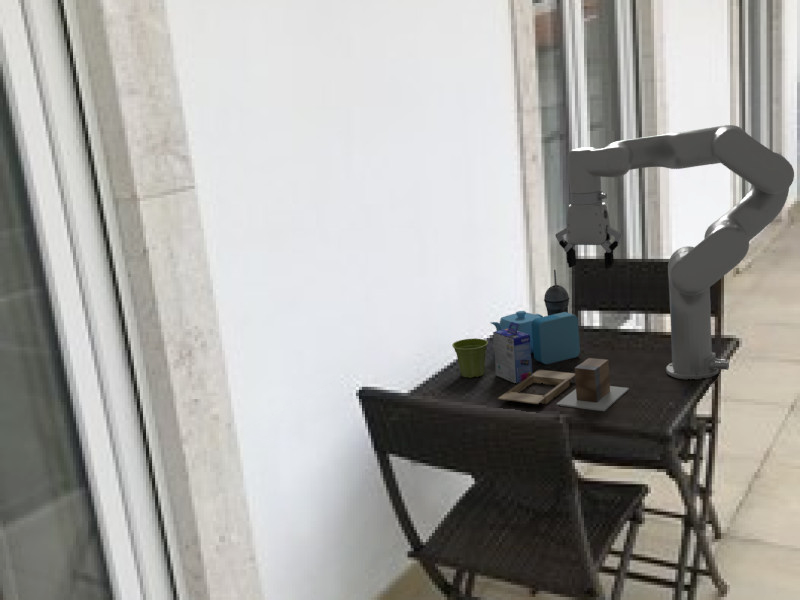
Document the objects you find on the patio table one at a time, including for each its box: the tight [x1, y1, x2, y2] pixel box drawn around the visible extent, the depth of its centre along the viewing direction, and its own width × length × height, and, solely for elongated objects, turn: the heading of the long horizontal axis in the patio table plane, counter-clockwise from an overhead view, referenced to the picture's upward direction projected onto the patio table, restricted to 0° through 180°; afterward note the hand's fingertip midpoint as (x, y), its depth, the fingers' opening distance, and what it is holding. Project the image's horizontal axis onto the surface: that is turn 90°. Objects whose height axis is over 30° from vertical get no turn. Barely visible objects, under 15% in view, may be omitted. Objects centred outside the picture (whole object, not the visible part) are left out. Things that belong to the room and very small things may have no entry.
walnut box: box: [574, 357, 611, 403], centre depth 231 cm, size 5×8×8 cm, turn 145°
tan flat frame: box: [497, 369, 575, 405], centre depth 239 cm, size 11×22×2 cm, turn 145°
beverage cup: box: [543, 269, 570, 316], centre depth 279 cm, size 7×7×20 cm
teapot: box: [490, 310, 544, 354], centre depth 271 cm, size 12×18×12 cm
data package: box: [531, 312, 581, 365], centre depth 261 cm, size 12×4×12 cm, turn 112°
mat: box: [556, 385, 630, 412], centre depth 232 cm, size 12×15×1 cm
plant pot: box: [452, 337, 489, 379], centre depth 256 cm, size 9×9×9 cm
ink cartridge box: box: [492, 322, 533, 385], centre depth 250 cm, size 10×6×14 cm, turn 28°
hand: (590, 266), depth 240 cm, fingers open, 9 cm apart
